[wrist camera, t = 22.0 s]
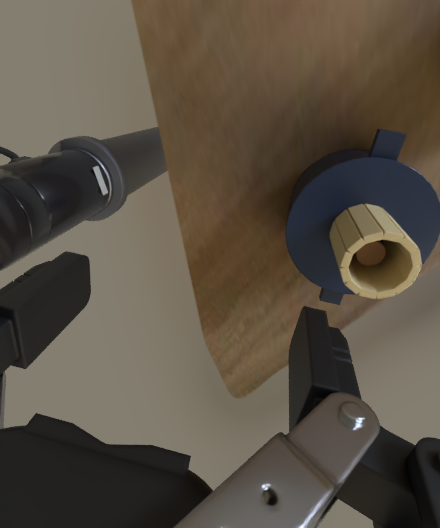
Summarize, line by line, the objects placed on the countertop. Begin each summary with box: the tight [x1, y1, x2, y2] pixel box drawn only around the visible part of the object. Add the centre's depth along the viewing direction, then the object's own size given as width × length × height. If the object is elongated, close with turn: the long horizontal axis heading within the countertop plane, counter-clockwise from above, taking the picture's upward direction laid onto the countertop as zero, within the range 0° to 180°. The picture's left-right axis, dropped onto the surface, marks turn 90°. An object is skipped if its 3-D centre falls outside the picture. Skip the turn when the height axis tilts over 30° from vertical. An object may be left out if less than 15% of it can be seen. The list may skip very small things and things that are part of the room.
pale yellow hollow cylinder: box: [329, 204, 422, 299], centre depth 30 cm, size 6×6×8 cm
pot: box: [289, 129, 407, 305], centre depth 37 cm, size 14×19×8 cm
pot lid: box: [286, 157, 440, 294], centre depth 31 cm, size 15×15×6 cm
